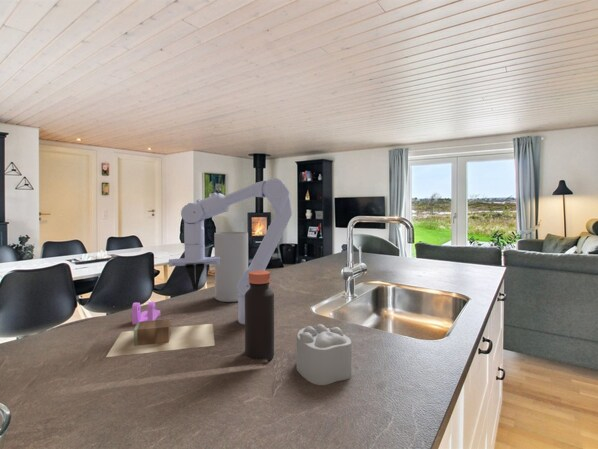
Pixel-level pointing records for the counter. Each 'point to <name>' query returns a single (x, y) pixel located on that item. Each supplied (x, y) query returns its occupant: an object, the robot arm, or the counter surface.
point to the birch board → (178, 340)
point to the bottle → (259, 317)
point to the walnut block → (152, 332)
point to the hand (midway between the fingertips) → (195, 289)
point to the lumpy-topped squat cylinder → (323, 354)
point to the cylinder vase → (230, 263)
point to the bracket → (144, 313)
